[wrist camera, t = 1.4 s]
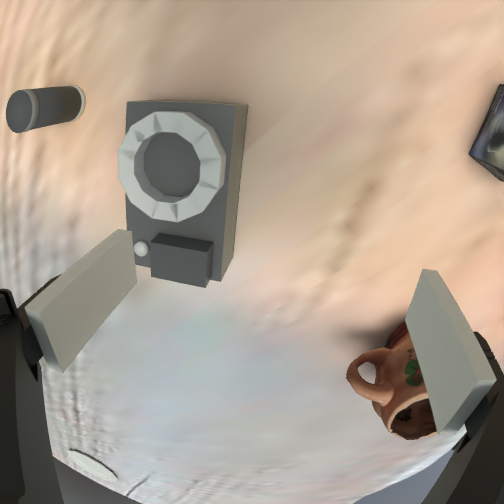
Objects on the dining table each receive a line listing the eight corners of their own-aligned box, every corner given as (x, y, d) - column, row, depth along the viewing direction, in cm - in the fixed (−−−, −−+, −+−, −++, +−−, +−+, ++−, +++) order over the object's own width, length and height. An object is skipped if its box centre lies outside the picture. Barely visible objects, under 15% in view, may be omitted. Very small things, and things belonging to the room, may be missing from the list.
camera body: (153, 100, 33) (113, 102, 25) (248, 105, 32) (229, 105, 24) (151, 241, 41) (119, 273, 34) (233, 256, 40) (214, 293, 32)
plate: (82, 466, 94) (81, 469, 93) (60, 440, 85) (58, 443, 84) (125, 484, 91) (124, 487, 90) (106, 460, 82) (104, 464, 81)
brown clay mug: (327, 361, 45) (326, 440, 33) (355, 294, 39) (368, 375, 27) (439, 376, 43) (458, 445, 31) (476, 318, 38) (511, 387, 26)
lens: (60, 87, 33) (6, 93, 24) (86, 84, 33) (32, 87, 24) (59, 121, 35) (6, 134, 27) (85, 120, 35) (31, 132, 26)
